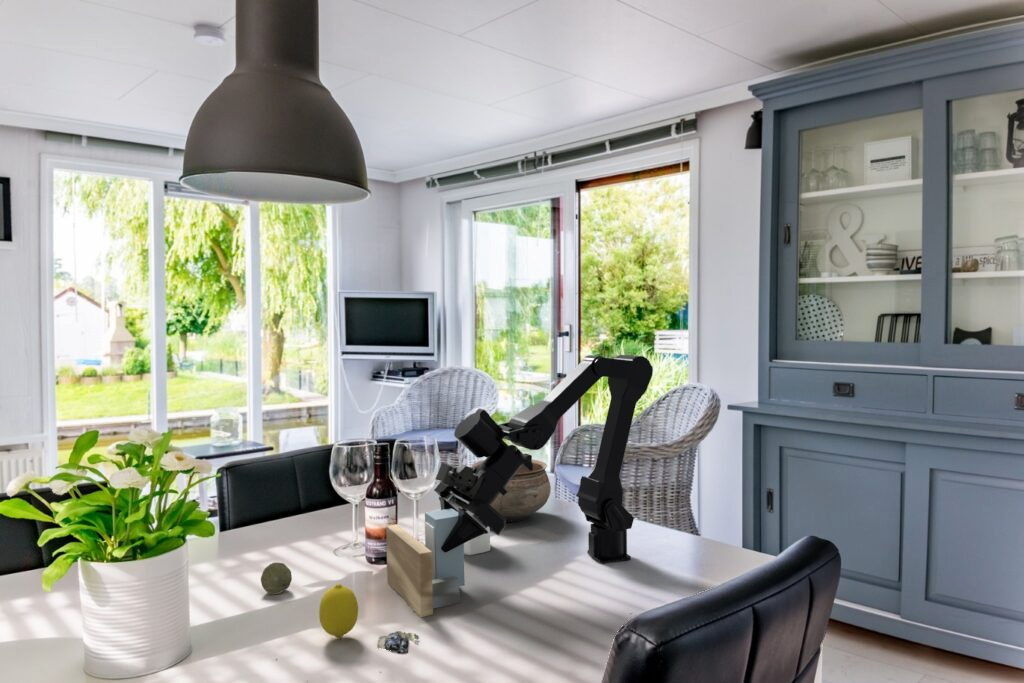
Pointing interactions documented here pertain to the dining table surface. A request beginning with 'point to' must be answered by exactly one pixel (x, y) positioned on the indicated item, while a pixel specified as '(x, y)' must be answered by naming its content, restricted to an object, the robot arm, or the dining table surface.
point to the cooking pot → (523, 492)
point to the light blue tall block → (435, 536)
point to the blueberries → (397, 641)
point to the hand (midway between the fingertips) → (437, 546)
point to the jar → (478, 544)
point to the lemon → (338, 611)
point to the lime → (276, 578)
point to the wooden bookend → (416, 573)
